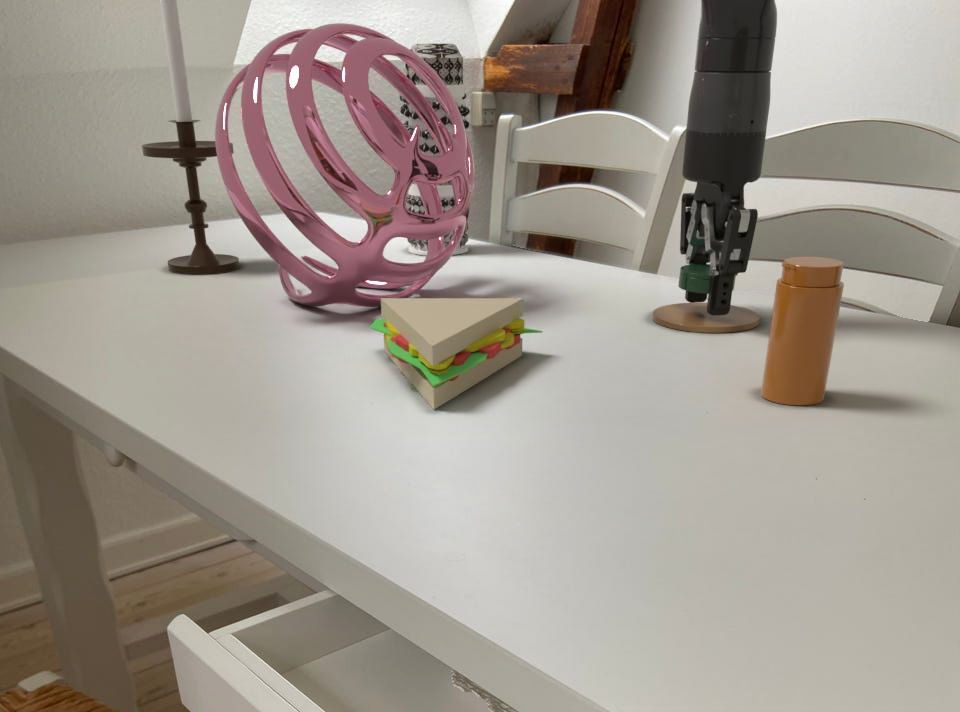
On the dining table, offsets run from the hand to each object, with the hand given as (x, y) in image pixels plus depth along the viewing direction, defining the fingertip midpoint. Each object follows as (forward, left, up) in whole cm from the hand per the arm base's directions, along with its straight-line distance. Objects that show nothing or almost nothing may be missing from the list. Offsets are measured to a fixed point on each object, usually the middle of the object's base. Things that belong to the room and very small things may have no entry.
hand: (706, 307), depth 104 cm
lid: (0, 0, +3) cm, 3 cm away
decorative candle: (+4, -51, -1) cm, 51 cm away
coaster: (0, 0, -1) cm, 1 cm away
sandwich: (+34, +3, -1) cm, 34 cm away
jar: (+12, +24, -1) cm, 27 cm away
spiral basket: (+27, -27, -1) cm, 38 cm away
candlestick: (+36, -56, -1) cm, 67 cm away
